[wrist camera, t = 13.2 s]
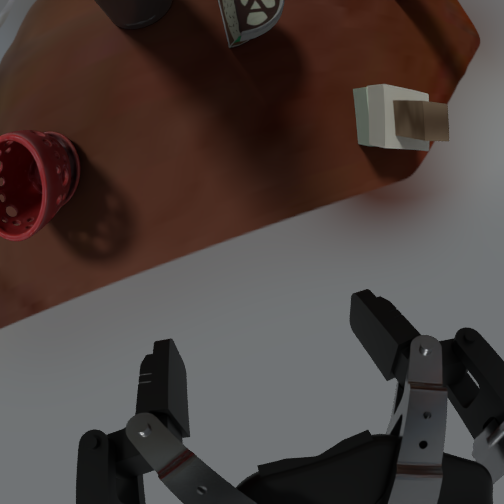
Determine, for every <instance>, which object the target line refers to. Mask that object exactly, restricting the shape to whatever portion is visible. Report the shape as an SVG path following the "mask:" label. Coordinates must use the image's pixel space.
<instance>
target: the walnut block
mask: <svg viewBox="0 0 504 504" xmlns="http://www.w3.org/2000/svg"><path fill="white" fill-rule="evenodd" d="M393 108H394V120H395V135H396V136H402V137H408V138H413V139H418V140H423V141H449V123H448V106H447V104H442V103H435V102H428V101H415V100H393Z"/></svg>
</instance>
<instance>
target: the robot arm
mask: <svg viewBox="0 0 504 504" xmlns="http://www.w3.org/2000/svg"><path fill="white" fill-rule="evenodd" d="M95 2H96V3H97V4H98V5H99V6H100V7H101V9H102V10H103V11H104V12H105V13H106V15H107V16H108V17H109V18H110V19H111V21H112V22H113V23H114V24H115V25H117V26H118V27H121V28H125V29H138V28H143V27H146V26H148V25H151V24H152V23H154V22H156V21H157V20H159V19H160V18H162V17H163V16H164V15H165V14H166V12H167V11H168V9H169V8H170V6H171V3H172V0H95ZM350 325H351V328H352V330H353V332H354V334H355V335H356V337H357V338H358V339H359V341H360V342H361V344H362V345H363V347H364V348H365V350H366V351H367V352H368V354H369V355H370V357H371V358H372V360H373V361H374V363H375V364H376V366H377V367H378V368H379V370H380V371H381V373H382V374H383V376H384V377H385V379H386V380H387V381H388V380H390V379H393V378H396V379H397V381H398V383H397V385H396V393H395V398H394V405H393V410H392V415H391V420H390V423H389V426H388V428H387V432H386V434H376V435H371V434H370V432H369V430H366V431H364V432H362V433H359V434H357V435H354V436H352V437H350V438H347V439H344V440H342V441H341V442H339V443H338V444H336V445H335V446H333V447H332V448H330V449H329V450H327V451H325V452H324V453H322V454H321V455H318V456H315V457H304V458H290V459H283V460H279V461H275V462H271V463H267V464H263V465H258V470H259V471H258V472H256V473H254V474H252V475H251V476H249V477H247V478H246V479H245V480H243V481H242V482H241V483H240V484H239V485H238V486H237V487H236V488H235V487H233V486H232V485H231V484H230V483H228V482H227V481H226V480H225V479H223V478H222V477H221V476H220V475H218V474H217V473H216V472H215V471H213V470H212V469H211V468H210V467H209V466H207V465H206V464H205V463H204V462H203V461H202V460H201V459H199V458H198V457H197V456H196V455H195V454H194V453H193V452H191V451H190V450H188V448H186V447H185V446H184V445H183V443H182V438H184V437H190V431H189V417H188V400H187V379H186V369H185V365H184V363H183V360H182V358H181V356H180V355H179V352H178V350H177V348H176V346H175V343H174V341H173V340H172V339H166V340H160V341H155V342H154V349H153V354H149V355H146V356H145V358H144V360H143V361H142V363H141V366H140V376H139V385H138V394H137V404H136V413H135V416H133V417H132V418H131V419H130V420H129V421H128V423H127V425H126V427H125V428H124V429H122V430H119V431H116V432H113V433H110V434H108V435H106V434H105V433H103V432H102V431H100V430H90V431H88V432H86V433H85V434H84V435H83V436H82V437H81V439H80V442H79V449H78V461H77V478H76V479H77V480H76V504H146V503H145V494H144V485H143V474H145V473H148V472H151V471H153V470H155V471H156V472H157V473H158V477H159V479H160V480H161V481H162V482H163V483H164V484H165V485H166V486H167V487H168V489H169V490H170V491H171V492H172V493H173V494H174V495H175V496H176V497H177V498H178V499H179V500H181V502H182V503H184V504H493V496H492V495H493V494H492V493H493V484H494V483H495V482H496V481H497V480H498V479H500V478H501V477H502V476H503V475H504V361H503V360H502V359H501V358H500V356H499V355H498V354H497V353H496V352H495V351H494V349H493V348H492V347H491V346H490V345H489V344H488V343H487V341H486V340H485V339H484V338H483V337H482V336H481V335H480V334H479V333H478V332H477V331H476V330H474V329H471V328H462V329H460V330H458V332H457V333H456V335H455V338H454V339H449V340H444V341H438V340H437V339H436V338H434V337H432V336H429V335H421V334H420V333H419V332H418V331H417V330H416V329H415V328H414V327H413V326H412V325H411V323H410V322H409V321H408V320H407V319H406V318H405V317H404V316H403V315H401V313H400V312H399V311H398V310H397V309H396V307H395V306H394V305H393V304H392V303H391V302H390V301H388V300H386V299H384V298H382V297H376V296H375V295H374V294H373V293H372V292H371V291H370V290H368V289H366V290H363V291H360V292H357V293H353V294H352V296H351V309H350ZM468 371H469V372H470V373H471V375H472V376H473V377H474V379H475V380H476V381H477V383H478V384H479V388H480V389H479V388H478V386H477V385H476V384H475V382H474V381H473V380H472V378H471V377H470V376H469V374H468V373H467V372H468ZM447 397H448V398H449V400H450V401H451V403H452V405H453V406H454V408H455V409H456V411H457V412H458V414H459V415H460V417H461V419H462V420H463V422H464V423H465V425H466V427H467V428H468V430H469V432H470V433H471V435H472V437H473V438H474V443H473V452H472V456H473V457H474V458H475V459H476V462H475V461H471V460H468V459H464V458H461V457H457V456H454V455H450V454H447V453H444V452H443V450H444V441H445V431H446V417H447Z"/></svg>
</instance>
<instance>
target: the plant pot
mask: <svg viewBox="0 0 504 504" xmlns="http://www.w3.org/2000/svg"><path fill="white" fill-rule="evenodd" d="M6 142H7V143H6ZM8 148H9V149H8ZM7 149H8V150H7ZM6 150H7V151H6ZM0 161H1V167H0V178H1V177H2V178H3V185H2V186H0V194H2V195H3V196H4V198H5V201H4V202H1V200H0V236H1V237H3V238H4V239H7V240H10V241H23V240H26V239H28V238H30V237H31V236H33V235H34V234H35V233H37V232H38V231H39V230H40V229H42V228H43V227H44V226H45V225H46V224H47V223H48V222H49V221H50V220H51V219H52V218H53V217H54V216H55V215H56V213H57V212H58V211H59V210H60V208H61V207H62V206H63V205H65V204H66V203H67V202H68V201H69V200H70V199H71V197H72V196H73V195H74V193H75V191H76V189H77V186H78V183H79V178H80V160H79V156H78V153H77V151H76V149H75V147H74V145H73V144H72V142H71V141H70V140H69V139H68V138H67V137H66V136H64V135H62V134H60V133H58V132H44V133H43V132H39V131H32V130H23V131H15V132H10V133H6V134H3V135H1V136H0ZM8 206H11V207H13V208H14V209H15V210H16V212H17V215H16V216H15V217H11V216H9V215H8V214H7V213H6V207H8ZM2 219H4V220H5V221H6V223H5V222H3V221H2ZM31 220H33V221H32V222H29V221H31ZM13 224H19V226H15V225H13Z"/></svg>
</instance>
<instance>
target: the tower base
mask: <svg viewBox="0 0 504 504" xmlns="http://www.w3.org/2000/svg"><path fill="white" fill-rule="evenodd" d="M353 94H354V102H355V112H356V122H357V134H358V144H361V145H366V146H371V147H372V145H369V111H368V91H367V87H365V88H357V89H353Z"/></svg>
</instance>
